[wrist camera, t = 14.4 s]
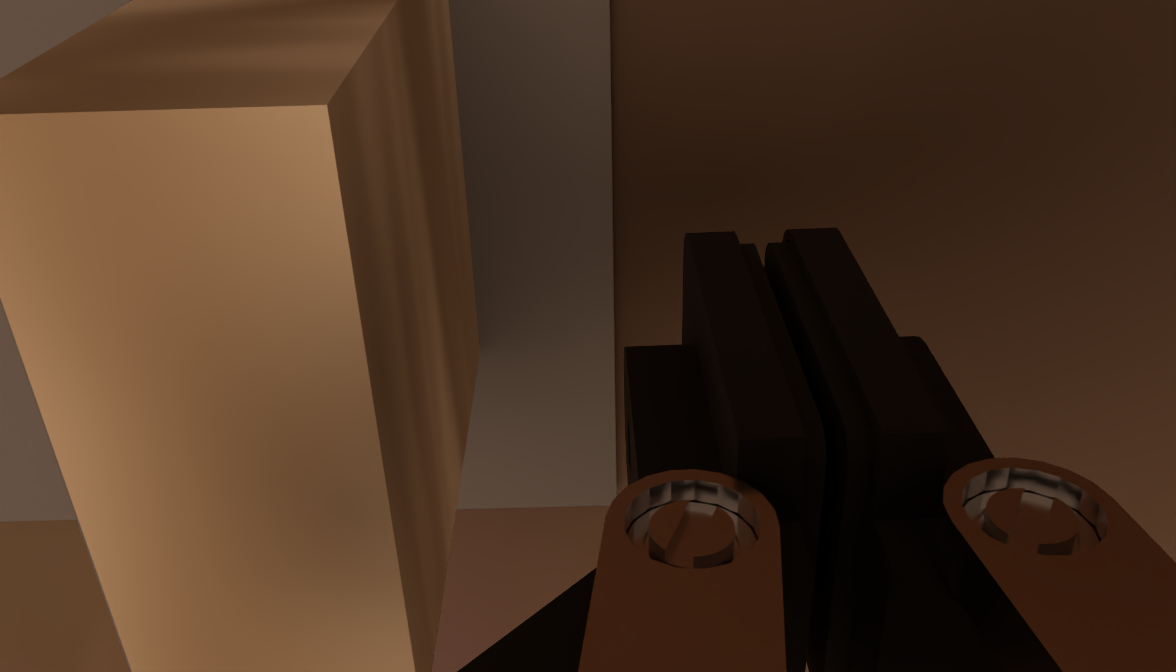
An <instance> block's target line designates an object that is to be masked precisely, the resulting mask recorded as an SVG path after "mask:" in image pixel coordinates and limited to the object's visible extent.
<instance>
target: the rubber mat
mask: <svg viewBox="0 0 1176 672" xmlns="http://www.w3.org/2000/svg"><path fill="white" fill-rule="evenodd" d="M130 1H132V0H0V78H2V77H4V76H6V75H7V74H9V73H11V72H12V71H14V70H16V69H17V68H19V67H21V66H22V65H24V64H26V63H27V62H29V61H31V60H33V59H34V58H36V57H38V56H39V55H41V54H43V53H44V52H46V51H48V50H49V49H51V48H53V47H54V46H56V45H58V44H60V43H61V42H63V41H65V40H66V39H68V38H70V37H71V36H73V35H75V34H76V33H78V32H80V31H81V30H83V29H85V28H87V27H88V26H90V25H92V24H93V23H95V22H97V21H98V20H100V19H102V18H103V17H105V16H107V15H109V14H110V13H112V12H114V11H115V10H117V9H119V8H120V7H122V6H124V5H125V4H127V3H129V2H130ZM448 3H449V14H450V25H451V36H452V47H453V58H454V69H455V80H456V91H457V102H458V113H459V124H460V135H461V146H462V157H463V168H464V179H465V190H466V201H467V212H468V223H469V234H470V245H471V256H472V267H473V278H474V289H475V300H476V311H477V322H478V333H479V344H480V357H479V363H478V370H477V377H476V383H475V390H474V396H473V403H472V409H471V416H470V422H469V429H468V435H467V442H466V448H465V455H464V461H463V468H462V474H461V481H460V488H459V494H458V501H457V507H456V509H490V508H527V507H564V506H602V505H611V503H612V501H613V499H614V498H615V497H616V496H617V494H616V421H615V348H614V275H613V203H612V130H611V57H610V0H448ZM42 520H76V518H75V515H74V512H73V509H72V507H71V504H70V501H69V498H68V495H67V492H66V490H65V487H64V484H63V481H62V478H61V475H60V473H59V470H58V467H57V464H56V461H55V458H54V456H53V453H52V450H51V447H50V444H49V441H48V439H47V436H46V433H45V430H44V427H43V424H42V422H41V419H40V416H39V413H38V410H37V407H36V405H35V402H34V399H33V396H32V393H31V390H30V388H29V385H28V382H27V379H26V376H25V373H24V370H23V368H22V365H21V362H20V359H19V356H18V353H17V351H16V348H15V345H14V342H13V339H12V336H11V334H10V331H9V328H8V325H7V322H6V319H5V317H4V314H3V311H2V308H1V305H0V522H5V521H42Z"/></svg>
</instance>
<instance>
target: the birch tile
mask: <svg viewBox="0 0 1176 672" xmlns="http://www.w3.org/2000/svg"><path fill="white" fill-rule="evenodd" d="M0 305H1V308H2V311H3V314H4V317H5V319H6V322H7V325H8V328H9V331H10V334H11V336H12V339H13V342H14V345H15V348H16V351H17V353H18V356H19V359H20V362H21V365H22V368H23V370H24V373H25V376H26V379H27V382H28V385H29V388H30V390H31V393H32V396H33V399H34V402H35V405H36V407H37V410H38V413H39V416H40V419H41V422H42V424H43V427H44V430H45V433H46V436H47V439H48V441H49V444H50V447H51V450H52V453H53V456H54V458H55V461H56V464H57V467H58V470H59V473H60V475H61V478H62V481H63V484H64V487H65V490H66V492H67V495H68V498H69V501H70V504H71V507H72V509H73V512H74V515H75V518H76V521H77V524H78V526H79V529H80V532H81V535H82V538H83V541H84V544H85V546H86V549H87V552H88V555H89V558H90V561H91V563H92V566H93V569H94V572H95V575H96V578H97V580H98V583H99V586H100V589H101V592H102V595H103V597H104V600H105V603H106V606H107V609H108V612H109V614H110V617H111V620H112V623H113V626H114V629H115V631H116V634H117V637H118V640H119V643H120V646H121V648H122V651H123V654H124V657H125V660H126V663H127V665H128V668H129V671H130V672H431V670H432V664H433V657H434V651H435V644H436V638H437V631H438V625H439V618H440V612H441V605H442V599H443V592H444V586H445V579H446V572H447V566H448V559H449V553H450V546H451V540H452V533H453V527H454V520H455V514H456V507H457V501H458V494H459V488H460V481H461V474H462V468H463V461H464V455H465V448H466V442H467V435H468V429H469V422H470V416H471V409H472V403H473V396H474V390H475V383H476V377H477V370H478V363H479V357H480V344H479V333H478V322H477V311H476V300H475V289H474V278H473V267H472V256H471V245H470V234H469V223H468V212H467V201H466V190H465V179H464V168H463V157H462V146H461V135H460V124H459V113H458V102H457V91H456V80H455V69H454V58H453V47H452V36H451V25H450V14H449V3H448V0H132V1H130V2H129V3H127V4H125V5H124V6H122V7H120V8H119V9H117V10H115V11H114V12H112V13H110V14H109V15H107V16H105V17H103V18H102V19H100V20H98V21H97V22H95V23H93V24H92V25H90V26H88V27H87V28H85V29H83V30H81V31H80V32H78V33H76V34H75V35H73V36H71V37H70V38H68V39H66V40H65V41H63V42H61V43H60V44H58V45H56V46H54V47H53V48H51V49H49V50H48V51H46V52H44V53H43V54H41V55H39V56H38V57H36V58H34V59H33V60H31V61H29V62H27V63H26V64H24V65H22V66H21V67H19V68H17V69H16V70H14V71H12V72H11V73H9V74H7V75H6V76H4V77H2V78H0Z"/></svg>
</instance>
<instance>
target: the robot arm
mask: <svg viewBox="0 0 1176 672" xmlns="http://www.w3.org/2000/svg"><path fill="white" fill-rule="evenodd" d="M624 404H625V439H626V460H627V476H628V486H627V487H626V488H625V489H624V490H623V491H622V492H621V493H620V494H619V495H618V496H616V497H615V498H614V499H613V501H612V503H611V506H610V508H609V510H608V513H607V515H606V518H605V524H604V529H603V535H602V541H601V546H600V552H599V557H598V563H597V568H595V569H594V570H593V571H591V572H590V573H589V574H587V575H586V576H585V577H583V578H582V579H581V580H579V581H578V582H577V583H575V584H574V585H573V586H571V587H570V588H569V589H567V590H566V591H565V592H563V593H562V594H561V595H559V596H558V597H557V598H555V599H554V600H553V601H551V602H550V603H549V604H547V605H546V606H545V607H543V608H542V609H541V610H539V611H538V612H537V613H535V614H534V615H533V616H531V617H530V618H529V619H527V620H526V621H524V622H523V623H522V624H520V625H519V626H518V627H516V628H515V629H514V630H512V631H511V632H510V633H508V634H507V635H506V636H504V637H503V638H502V639H500V640H499V641H498V642H496V643H495V644H494V645H492V646H491V647H490V648H488V649H487V650H486V651H484V652H483V653H482V654H480V655H479V656H478V657H476V658H475V659H474V660H472V661H471V662H470V663H468V664H467V665H466V666H464V667H463V668H462V669H460V670H459V671H458V672H805V668H806V662H807V665H808V669H809V672H1176V562H1175V561H1174V560H1173V559H1172V558H1171V557H1170V556H1169V555H1168V554H1167V553H1166V552H1165V551H1164V550H1163V549H1162V548H1161V547H1160V546H1159V545H1158V544H1157V543H1156V542H1155V541H1154V540H1153V539H1152V538H1151V537H1150V536H1149V535H1148V534H1147V533H1146V532H1145V531H1144V530H1143V528H1142V527H1141V526H1140V525H1139V524H1138V523H1137V522H1136V521H1135V520H1134V519H1133V518H1132V517H1131V516H1130V515H1129V514H1128V513H1127V512H1126V511H1125V510H1124V509H1123V508H1122V507H1121V506H1120V505H1119V504H1118V503H1117V502H1116V501H1115V500H1114V499H1113V498H1112V497H1111V496H1110V495H1108V494H1107V493H1106V492H1105V491H1103V490H1102V489H1101V488H1100V487H1098V486H1097V485H1096V484H1095V483H1093V482H1092V481H1090V480H1088V479H1086V478H1084V477H1082V476H1080V475H1078V474H1076V473H1074V472H1072V471H1070V470H1067V469H1064V468H1061V467H1058V466H1055V465H1052V464H1048V463H1045V462H1042V461H1035V460H1028V459H1021V458H994V456H993V454H992V453H991V451H990V449H989V448H988V446H987V444H986V443H985V441H984V439H983V438H982V436H981V434H980V433H979V431H978V429H977V428H976V426H975V424H974V423H973V421H972V419H971V418H970V416H969V414H968V413H967V411H966V409H965V408H964V406H963V404H962V403H961V401H960V399H959V398H958V396H957V394H956V393H955V391H954V389H953V388H952V386H951V385H950V383H949V381H948V380H947V378H946V376H945V375H944V373H943V371H942V370H941V368H940V366H939V365H938V363H937V361H936V360H935V358H934V356H933V355H932V353H931V351H930V350H929V348H928V346H927V345H926V343H925V342H924V341H923V340H922V339H921V338H920V337H916V336H908V337H899V336H898V334H897V332H896V331H895V329H894V327H893V325H892V324H891V322H890V320H889V318H888V317H887V315H886V313H885V311H884V309H883V308H882V306H881V304H880V302H879V301H878V299H877V297H876V295H875V293H874V292H873V290H872V288H871V286H870V285H869V283H868V281H867V279H866V277H865V276H864V274H863V272H862V270H861V269H860V267H859V265H858V263H857V261H856V260H855V258H854V256H853V254H852V253H851V251H850V249H849V247H848V246H847V244H846V242H845V240H844V238H843V237H842V235H841V233H840V231H839V230H838V229H837V228H815V229H788V230H786V232H785V234H784V237H783V242H780V243H768V244H767V247H766V252H765V265H764V267H763V265H762V262H761V259H760V257H759V254H758V251H757V249H756V246H755V244H754V243H753V244H739V241H738V238H737V235H736V233H735V231H733V232H705V233H686V234H685V239H684V258H683V319H682V345H661V346H633V347H624Z"/></svg>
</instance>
